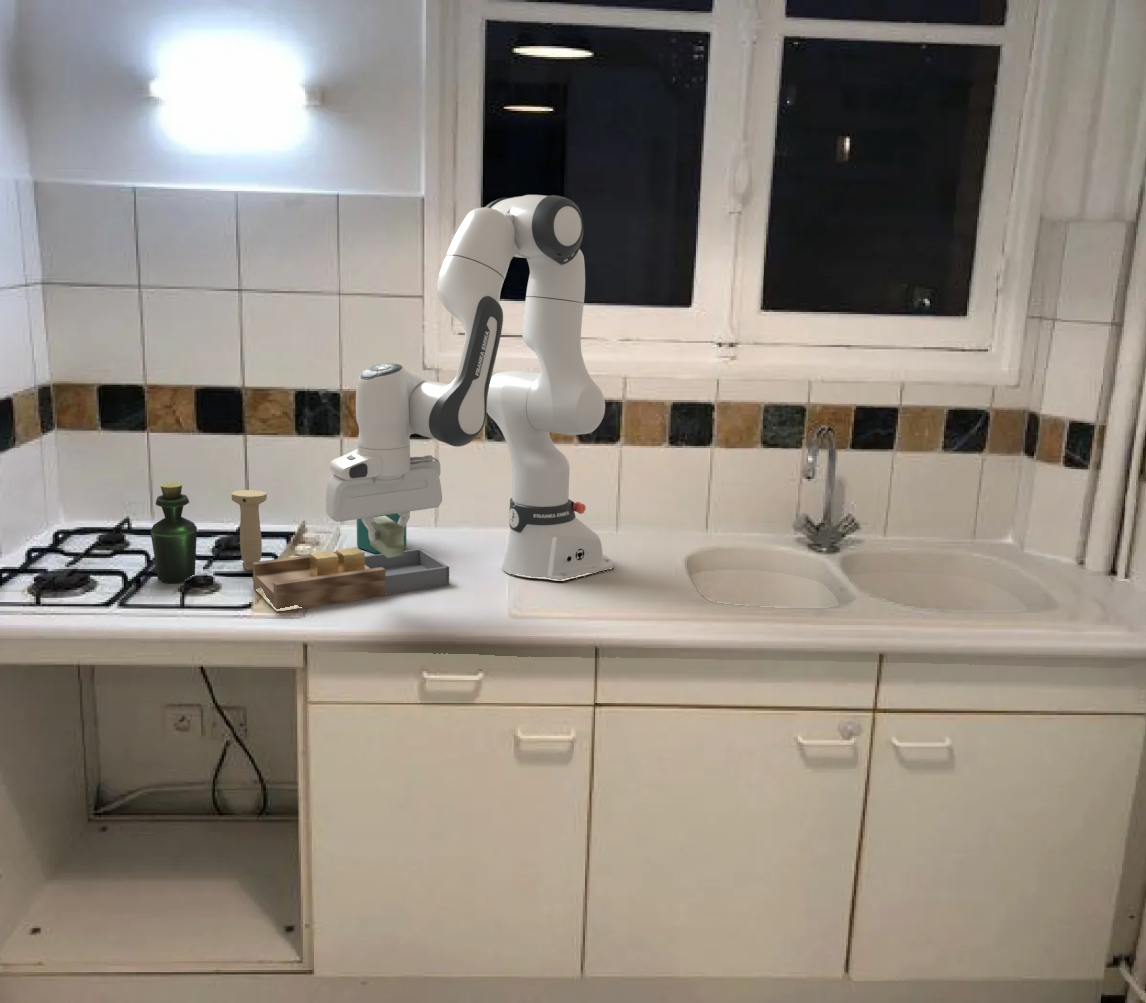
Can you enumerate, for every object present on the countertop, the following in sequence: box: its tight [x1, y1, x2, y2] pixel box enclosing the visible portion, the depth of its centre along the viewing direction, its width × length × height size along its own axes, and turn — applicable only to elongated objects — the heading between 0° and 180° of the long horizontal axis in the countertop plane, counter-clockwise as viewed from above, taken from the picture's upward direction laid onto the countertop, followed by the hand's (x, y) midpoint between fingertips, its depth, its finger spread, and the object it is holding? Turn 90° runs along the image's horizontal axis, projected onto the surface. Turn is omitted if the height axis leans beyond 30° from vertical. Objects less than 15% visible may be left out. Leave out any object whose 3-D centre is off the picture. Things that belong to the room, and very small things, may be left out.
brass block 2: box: [335, 546, 366, 573], centre depth 201 cm, size 4×4×4 cm
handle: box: [230, 489, 268, 571], centre depth 208 cm, size 5×6×15 cm
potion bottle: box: [150, 481, 198, 585], centre depth 201 cm, size 8×8×18 cm
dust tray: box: [365, 548, 450, 595], centre depth 207 cm, size 13×13×4 cm
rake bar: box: [370, 516, 405, 558], centre depth 188 cm, size 3×8×5 cm, turn 32°
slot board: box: [252, 551, 387, 609], centre depth 198 cm, size 20×14×5 cm
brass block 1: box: [309, 549, 339, 577], centre depth 198 cm, size 4×4×4 cm
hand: (386, 538), depth 189 cm, fingers closed on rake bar, 3 cm apart
